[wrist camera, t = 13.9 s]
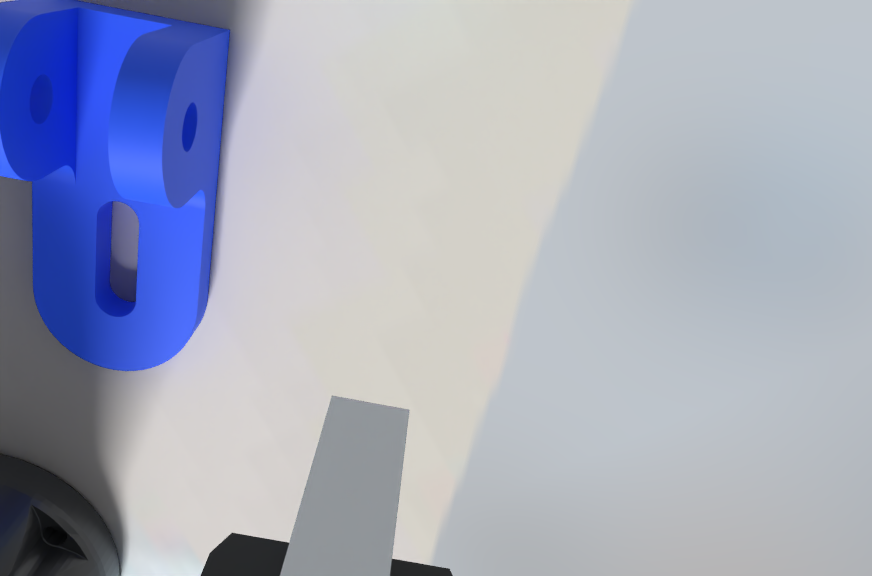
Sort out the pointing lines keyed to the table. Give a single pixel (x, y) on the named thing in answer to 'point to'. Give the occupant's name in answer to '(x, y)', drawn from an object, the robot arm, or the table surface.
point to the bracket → (114, 167)
